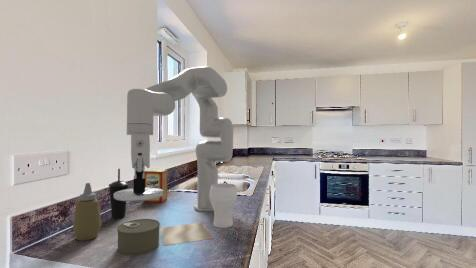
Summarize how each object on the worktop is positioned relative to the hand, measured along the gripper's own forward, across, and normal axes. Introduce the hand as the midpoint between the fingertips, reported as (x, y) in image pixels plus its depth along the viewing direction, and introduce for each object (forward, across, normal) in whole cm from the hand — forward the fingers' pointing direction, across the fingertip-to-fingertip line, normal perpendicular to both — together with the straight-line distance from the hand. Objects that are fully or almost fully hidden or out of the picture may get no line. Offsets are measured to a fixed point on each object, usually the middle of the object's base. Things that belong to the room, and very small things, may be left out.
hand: (139, 190), depth 77 cm
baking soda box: (+17, +56, -8) cm, 59 cm away
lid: (+2, 0, 0) cm, 2 cm away
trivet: (+17, +6, -15) cm, 24 cm away
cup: (+17, +10, -30) cm, 36 cm away
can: (+18, 0, 0) cm, 18 cm away
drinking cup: (+17, +34, +8) cm, 39 cm away
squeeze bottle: (+18, +14, +16) cm, 28 cm away
